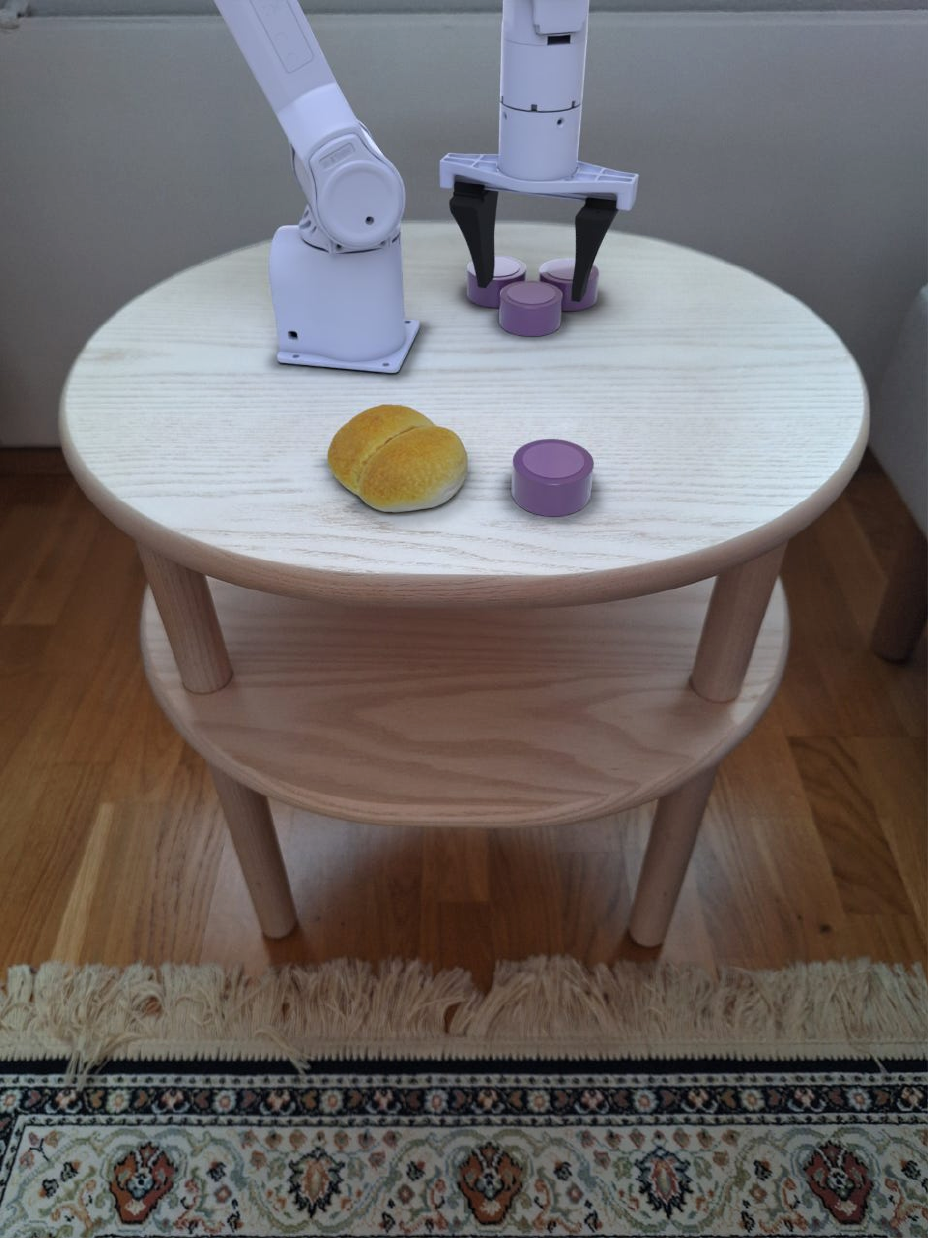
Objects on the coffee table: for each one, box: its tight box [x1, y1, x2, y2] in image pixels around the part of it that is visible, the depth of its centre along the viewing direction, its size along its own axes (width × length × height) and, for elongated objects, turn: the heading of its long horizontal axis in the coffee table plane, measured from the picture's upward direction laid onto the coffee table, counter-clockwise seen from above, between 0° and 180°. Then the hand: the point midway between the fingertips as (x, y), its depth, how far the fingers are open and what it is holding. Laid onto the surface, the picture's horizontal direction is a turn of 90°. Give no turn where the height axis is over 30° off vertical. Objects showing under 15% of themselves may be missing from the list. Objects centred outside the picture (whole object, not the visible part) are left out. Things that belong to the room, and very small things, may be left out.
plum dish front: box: [510, 438, 595, 517], centre depth 59 cm, size 5×5×2 cm
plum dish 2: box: [537, 257, 600, 312], centre depth 79 cm, size 5×5×2 cm
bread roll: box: [326, 404, 469, 513], centre depth 60 cm, size 8×9×4 cm
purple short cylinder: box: [466, 255, 528, 309], centre depth 80 cm, size 5×5×2 cm
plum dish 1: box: [498, 280, 563, 337], centre depth 76 cm, size 5×5×2 cm
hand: (531, 289), depth 75 cm, fingers open, 7 cm apart
